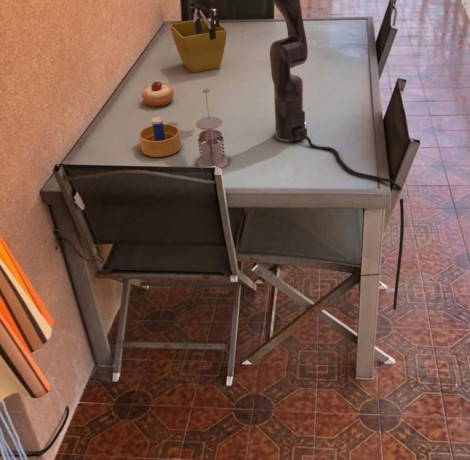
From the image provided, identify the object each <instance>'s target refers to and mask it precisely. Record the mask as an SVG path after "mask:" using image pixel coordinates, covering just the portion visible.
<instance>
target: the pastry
mask: <svg viewBox="0 0 470 460" xmlns="http://www.w3.org/2000/svg"><path fill="white" fill-rule="evenodd" d="M140 93H141V94H140V95H141V98H142V100H143V102H144V104H145V105H147V106H148V107H152V108H160V107H164V106H167V105H169V104H170V103H171V102H172V101H173V98H174V89H173V87H172V86H171V85H169V84H167V83H164V84H163V83H162V82H160V81H153V82H152V84H151V85H149V86H148V87H145V88H144V89H142V91H141V92H140Z"/></svg>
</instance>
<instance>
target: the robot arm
mask: <svg viewBox="0 0 470 460" xmlns="http://www.w3.org/2000/svg"><path fill="white" fill-rule="evenodd" d="M214 1H215V0H190V2H188V8H189V19H190V21H192V20H193V22H194V23H195V31H196V34H200V33H202V26H201V22H200V21H201V19H203V20H204V21H205V23H207V25H208V27H209V38H210V40H213V39H216V27H219V23H220V18H219V10H218V8H217V7H216V8H213V7H212V4H213V2H214ZM271 1H272V3H273V4H274V6H275V7H276V9H277V10H278V11H279V12H280V14H281V16H282V17H283V19H284V22H285V25H286V31H287V37H284V38H280V39H278V40H274V41H273V42H272V43H271V44H270V48H269V62H270V73H271V80H272V83H273V96H274V99H273V100H274V123H275V124H274V128H275V139H277V140H278V141H281V142H283V143H284V142H285V143H290V144H292V143H295V142H298V141H300V140H302V139H305V140H306V141H307V143H308V145H309V146H310V147H311V148H313V149H315V150H322V151H323V150H324V151H330V152H332V153H334V155H335V157H336V159H337V161H338V162H339V164H340V165H341V166H342V167H343V168H344V169H345V170H346V171H347V172H349V173H351V174H353V175H354V176H358V177H363V178H368V179H373V180H376V181H379V182H386V183H389V184H392V185H393V186H394V187H396V189H397V190H398V191H402V187H401V186H400V185H399V184H398V183H397V184H398V185H397V184H395V183H394V181H395V180H393V179H391V178H386V177H382V176H381V177H380V176H376V175H373V174H367V173H363V172H359V171H357V170H356V171H355V170H353V169H352V168H350V167H349V166H348V165H347V164H346V163H345V162H344V161H343V160H342V159H341V156H340V154H339V152H338V151H337V149H335V148H333V147H330V146H318V145H315V144H313V143H312V140H311V138H310V137H309V136H308V128H307V127H306V112H305V110H304V87H303V86H304V85H303V84H304V83H303V82H304V81H303V79H302V78H301V76H299V75H296V74H292V73H291V69H292V68H296V67H299V66H301V65H304V64H305V63H306V62H307V60H308V56H309V48H308V41H307V35H306V30H305V25H304V19H303V12H302V2H301V0H271ZM209 18H211V19H209ZM215 20H216V23H215ZM210 22H211V24H210ZM404 211H405V210H404V197H401V198H400V199H399V213H400V215H399V217H400V227H399V228H400V229H399V247H398V256H397V265H396V272H395V273H396V275H395V281H394V282H395V283H394V284H395V285H394V293H393V304H392V305H393V306H392V309H393V311H396V310H397V301H398V292H399V291H398V290H399V282H400V273H401V266H402V265H401V264H402V255H403V245H404V234H405V233H404V232H405V229H404V228H405V212H404Z"/></svg>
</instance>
